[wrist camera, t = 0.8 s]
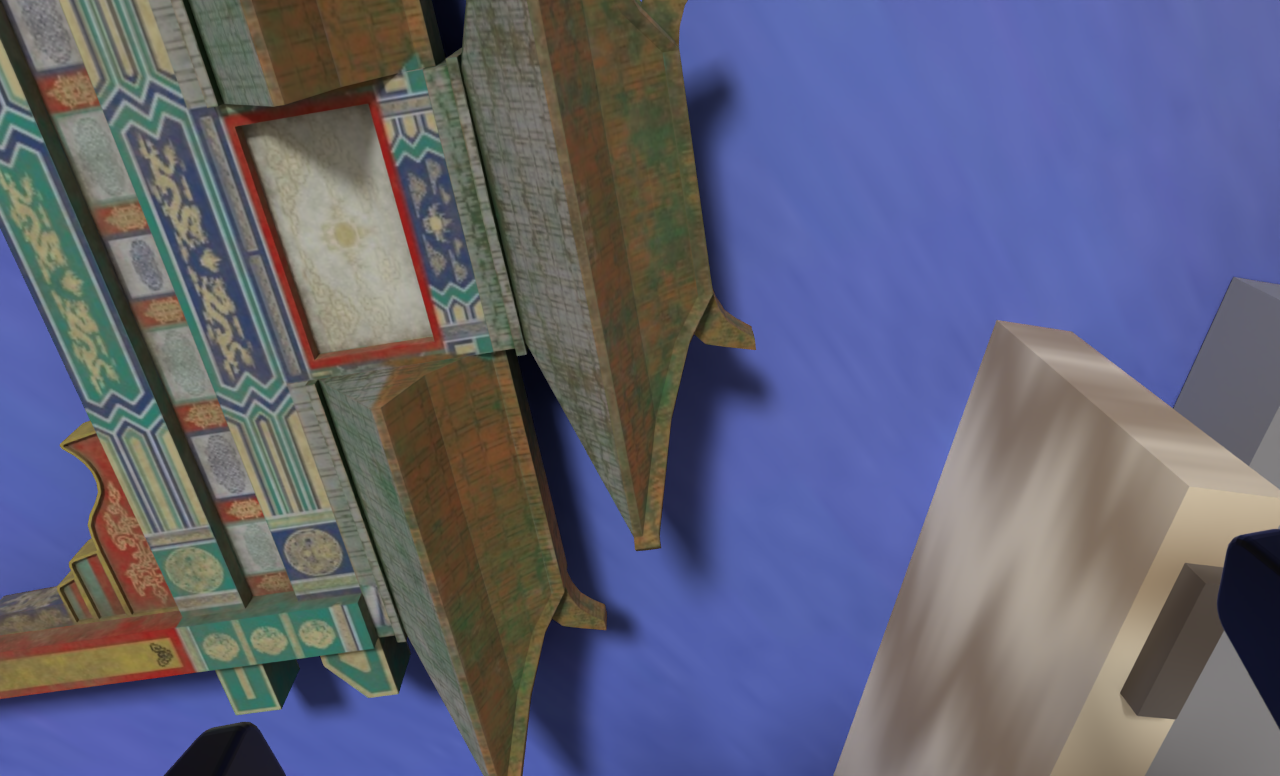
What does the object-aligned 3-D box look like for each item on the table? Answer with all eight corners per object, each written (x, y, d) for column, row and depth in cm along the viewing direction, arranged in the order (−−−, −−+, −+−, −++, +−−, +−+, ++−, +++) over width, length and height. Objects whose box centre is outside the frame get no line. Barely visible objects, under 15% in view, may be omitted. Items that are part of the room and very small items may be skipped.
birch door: (885, 795, 30) (999, 1091, 22) (825, 791, 30) (919, 1090, 22) (1069, 329, 24) (1318, 518, 16) (994, 318, 23) (1211, 505, 16)
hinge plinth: (1190, 906, 33) (1300, 1075, 29) (951, 892, 32) (1023, 1066, 27) (1544, 329, 25) (1793, 427, 20) (1233, 276, 23) (1416, 368, 18)
